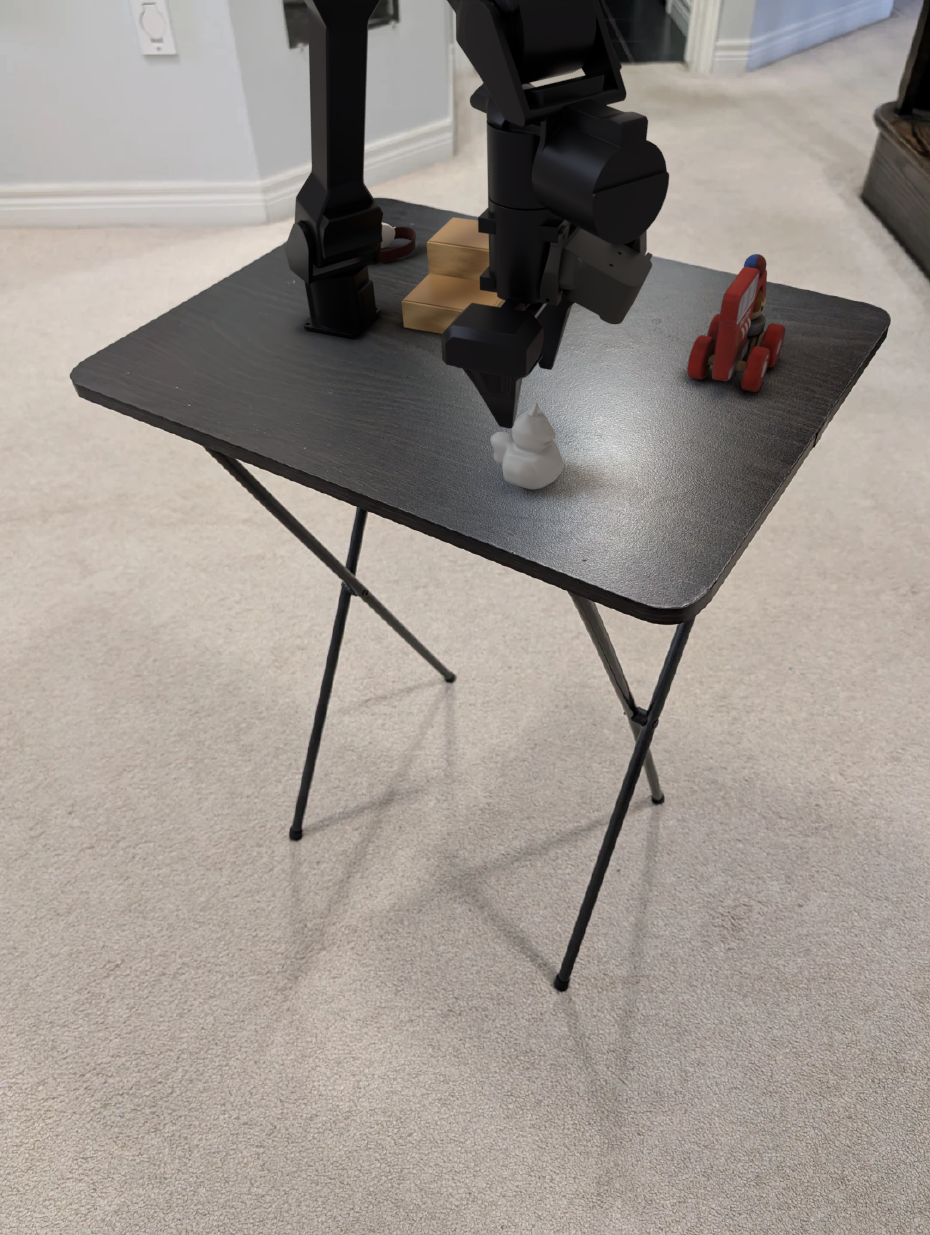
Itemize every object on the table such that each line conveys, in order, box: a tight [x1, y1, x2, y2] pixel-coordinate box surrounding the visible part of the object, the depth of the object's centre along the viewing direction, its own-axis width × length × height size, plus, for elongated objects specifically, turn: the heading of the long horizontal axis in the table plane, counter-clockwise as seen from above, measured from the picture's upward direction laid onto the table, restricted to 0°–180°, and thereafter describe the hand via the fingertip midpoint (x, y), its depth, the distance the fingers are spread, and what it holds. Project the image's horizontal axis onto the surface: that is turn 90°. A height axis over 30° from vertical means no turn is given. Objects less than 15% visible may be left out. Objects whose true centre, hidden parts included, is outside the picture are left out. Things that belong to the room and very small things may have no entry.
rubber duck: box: [490, 401, 564, 490], centre depth 74 cm, size 5×7×8 cm
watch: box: [379, 221, 417, 263], centre depth 109 cm, size 8×5×4 cm, turn 115°
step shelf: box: [401, 217, 505, 335], centre depth 97 cm, size 10×14×7 cm
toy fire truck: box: [686, 253, 786, 393], centre depth 84 cm, size 7×12×10 cm, turn 151°
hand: (527, 396), depth 71 cm, fingers open, 9 cm apart
